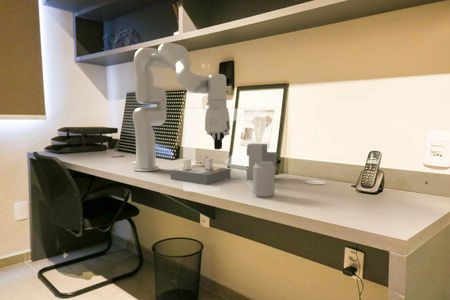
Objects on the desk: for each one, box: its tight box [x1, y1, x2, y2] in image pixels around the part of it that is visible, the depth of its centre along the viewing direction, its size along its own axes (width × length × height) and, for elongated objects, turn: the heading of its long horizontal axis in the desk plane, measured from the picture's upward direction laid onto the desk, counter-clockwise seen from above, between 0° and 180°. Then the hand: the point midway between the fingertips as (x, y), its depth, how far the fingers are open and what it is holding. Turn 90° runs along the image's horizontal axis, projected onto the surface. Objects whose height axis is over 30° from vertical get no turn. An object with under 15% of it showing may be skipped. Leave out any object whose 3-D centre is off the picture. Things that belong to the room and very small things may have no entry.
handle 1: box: [182, 158, 192, 170], centre depth 140 cm, size 3×3×4 cm
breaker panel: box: [170, 164, 231, 186], centre depth 144 cm, size 20×17×4 cm
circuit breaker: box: [246, 142, 282, 181], centre depth 143 cm, size 8×14×15 cm, turn 78°
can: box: [252, 161, 276, 198], centre depth 114 cm, size 8×8×12 cm
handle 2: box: [199, 155, 209, 166], centre depth 150 cm, size 3×3×4 cm
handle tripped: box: [205, 158, 214, 170], centre depth 141 cm, size 3×3×4 cm
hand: (218, 148), depth 137 cm, fingers closed
